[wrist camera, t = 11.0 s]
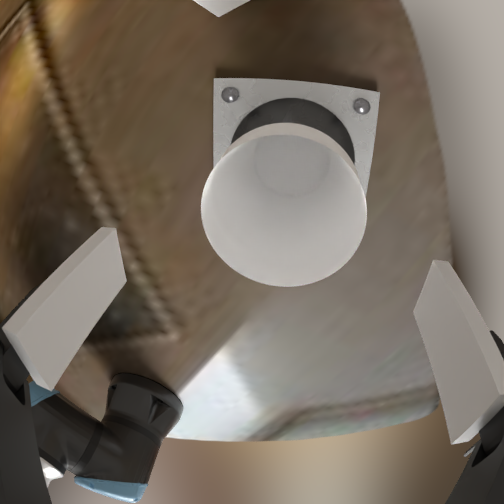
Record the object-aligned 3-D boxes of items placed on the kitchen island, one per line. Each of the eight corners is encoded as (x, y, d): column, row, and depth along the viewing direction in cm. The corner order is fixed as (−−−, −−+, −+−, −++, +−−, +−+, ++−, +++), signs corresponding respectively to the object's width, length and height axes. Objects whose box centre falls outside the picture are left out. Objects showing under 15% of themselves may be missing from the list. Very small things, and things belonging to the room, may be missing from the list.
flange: (217, 219, 31) (213, 225, 30) (216, 78, 24) (212, 78, 23) (355, 233, 30) (357, 241, 29) (377, 91, 22) (381, 92, 21)
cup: (351, 120, 23) (388, 150, 13) (332, 215, 28) (345, 299, 18) (244, 103, 24) (200, 121, 14) (236, 200, 29) (197, 274, 19)
